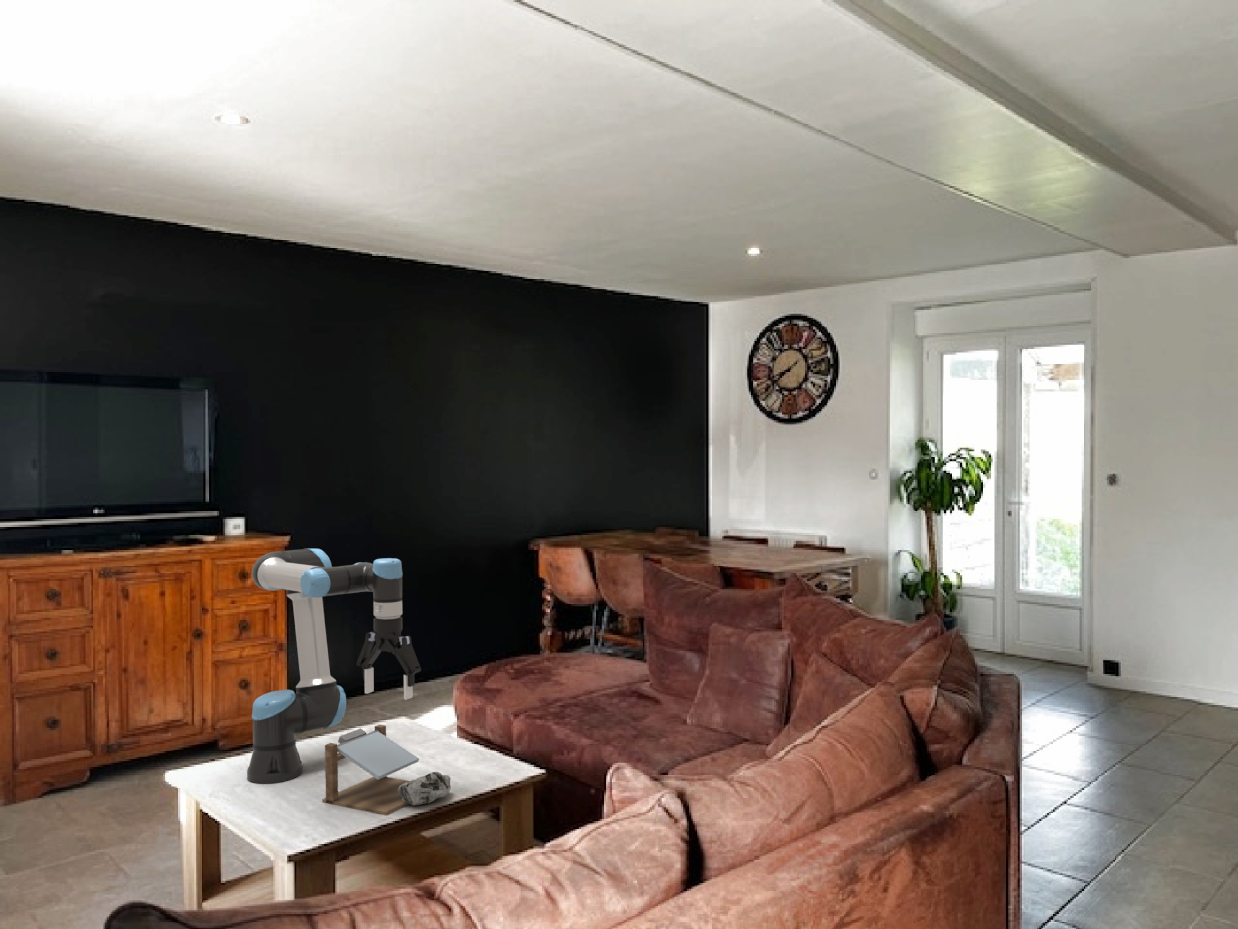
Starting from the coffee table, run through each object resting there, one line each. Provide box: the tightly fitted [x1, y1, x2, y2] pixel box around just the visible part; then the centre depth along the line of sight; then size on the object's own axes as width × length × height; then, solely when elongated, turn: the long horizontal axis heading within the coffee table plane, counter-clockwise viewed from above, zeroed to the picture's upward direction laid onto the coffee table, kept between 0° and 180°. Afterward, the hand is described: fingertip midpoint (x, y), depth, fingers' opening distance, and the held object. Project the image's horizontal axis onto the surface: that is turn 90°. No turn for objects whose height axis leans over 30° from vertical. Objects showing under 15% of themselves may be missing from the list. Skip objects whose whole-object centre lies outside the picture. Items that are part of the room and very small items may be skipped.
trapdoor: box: [337, 728, 420, 780], centre depth 253 cm, size 19×17×2 cm
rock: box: [398, 771, 452, 806], centre depth 248 cm, size 15×10×7 cm
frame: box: [321, 724, 411, 816], centre depth 252 cm, size 22×21×15 cm
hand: (388, 695), depth 251 cm, fingers open, 13 cm apart
